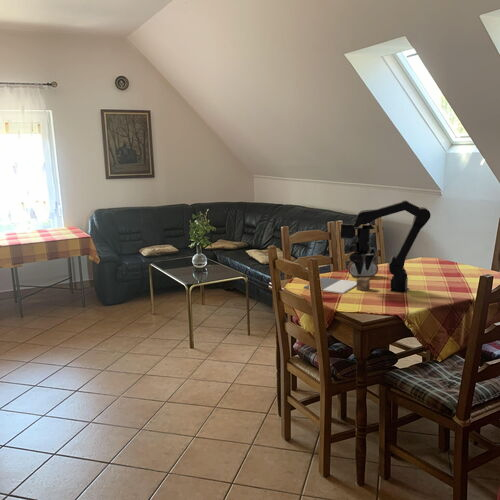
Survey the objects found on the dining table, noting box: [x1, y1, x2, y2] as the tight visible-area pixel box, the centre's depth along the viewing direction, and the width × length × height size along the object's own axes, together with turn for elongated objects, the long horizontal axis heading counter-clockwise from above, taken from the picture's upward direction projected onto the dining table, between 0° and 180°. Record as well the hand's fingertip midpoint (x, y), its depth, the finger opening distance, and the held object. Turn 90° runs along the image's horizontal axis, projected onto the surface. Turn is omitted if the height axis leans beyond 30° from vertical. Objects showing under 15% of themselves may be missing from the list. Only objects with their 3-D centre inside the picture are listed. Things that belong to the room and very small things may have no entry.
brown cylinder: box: [356, 277, 371, 292], centre depth 230 cm, size 4×4×5 cm
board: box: [303, 277, 357, 295], centre depth 238 cm, size 20×20×1 cm
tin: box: [347, 260, 379, 278], centre depth 252 cm, size 15×3×8 cm, turn 84°
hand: (363, 272), depth 229 cm, fingers open, 9 cm apart
